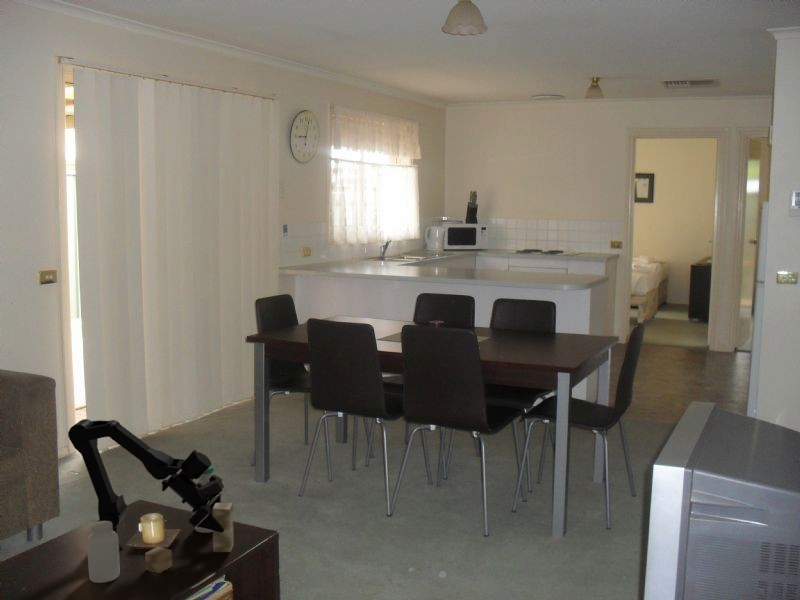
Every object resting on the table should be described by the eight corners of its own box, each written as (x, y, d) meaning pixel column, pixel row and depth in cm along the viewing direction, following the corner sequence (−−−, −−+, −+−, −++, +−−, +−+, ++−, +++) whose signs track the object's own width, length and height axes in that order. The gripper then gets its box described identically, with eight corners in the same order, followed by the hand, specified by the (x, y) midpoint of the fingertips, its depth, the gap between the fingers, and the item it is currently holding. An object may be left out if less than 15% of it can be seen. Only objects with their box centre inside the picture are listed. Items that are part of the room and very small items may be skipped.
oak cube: (145, 570, 223) (145, 553, 222) (159, 563, 227) (158, 546, 227) (159, 574, 220) (158, 556, 220) (172, 567, 225) (171, 550, 224)
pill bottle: (95, 570, 223) (93, 518, 221) (124, 570, 222) (122, 518, 221) (83, 583, 215) (81, 530, 213) (113, 584, 214) (111, 530, 213)
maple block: (213, 552, 234) (212, 509, 233) (216, 544, 239) (215, 503, 238) (230, 551, 235) (229, 509, 233) (233, 544, 239) (232, 502, 238)
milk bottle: (223, 524, 255) (221, 463, 252) (215, 534, 247) (213, 471, 245) (199, 523, 256) (198, 462, 253) (191, 532, 248) (189, 470, 246)
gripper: (199, 481, 225) (240, 518, 226) (212, 460, 243) (250, 494, 245) (172, 508, 225) (212, 545, 227) (187, 485, 244) (225, 520, 246)
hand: (226, 525), depth 236 cm, fingers open, 9 cm apart
